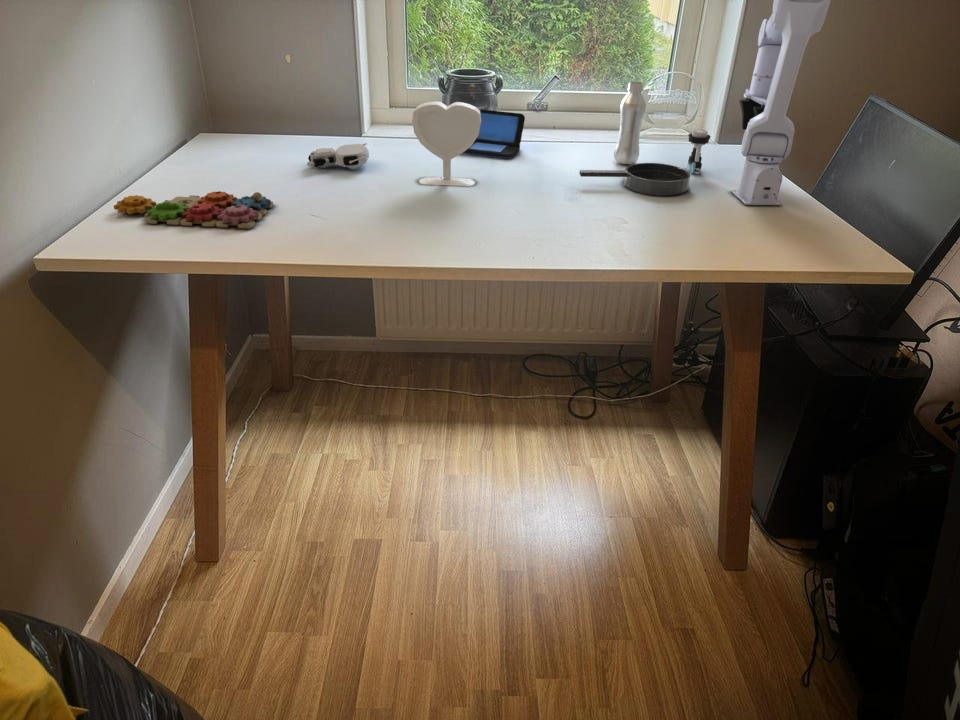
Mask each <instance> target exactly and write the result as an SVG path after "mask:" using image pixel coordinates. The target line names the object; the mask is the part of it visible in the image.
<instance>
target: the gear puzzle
mask: <svg viewBox="0 0 960 720" xmlns="http://www.w3.org/2000/svg"><path fill="white" fill-rule="evenodd" d="M273 206H274V202H273V201H272V200H271V199H269V198H267V197H266V196H263V194H262V193H261V192H258V191H256V192H254V193H253V194H252V195H250V196H249V195H244V196H242V197H241V198H238V197H236V196H234V194H229V193H227V192H226V191H221V190H218V191H211V192H207V193H206V194H205V196H201V197H200V195H194V194H190V195H189V196H175V197H173V199H171V200H169V199H165V200H163V202H159V203H157V202H156V201H154V200H152V198H151V197H150V198H147V197H144V196H143V195H138V194H136V195H128V196H125V197H123V198H122V199H121V200H118V201H116V204H114V205H113V210H115V211H117V213H118V214H123V213H127V214H128V215H133V214H135V213H140V214H144V213H145V214H144V220H145V223H146V224H154V225H157V224H158V223H161V222H163V223H166V224H167V225H172V226H173V225H174V226H178V225H181V226H189V227H191V226H193V225H195V224H198V225H201V226H202V227H207V228H209V227H211V228H213V227H217V228H229V226H234V227H235V226H236V227H237V229H245V230H246V229H247V230H249V229H252V228H253V226H255V224H256V222H255V221H260V220H261V219H262V218H263V216H265V214H267V212H268V211H267V209H272V207H273Z"/></svg>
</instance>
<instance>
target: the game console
mask: <svg viewBox="0 0 960 720" xmlns="http://www.w3.org/2000/svg"><path fill="white" fill-rule="evenodd" d="M478 109H479V110H480V115H481V124H480V130H479V135H478V137H477V138H476V140H475V141H474V143H473V144H472V146H471V147H469V148H468V149H467V150H466V151H464V152H463V153H462V154H465V155H473V156H481V157H489V158H490V157H491V158H496V159H497V158H498V159H506V160H507V159H509V160H510V159H512V158H514V156H515V155H517V154H518V152H520V151H521V143H522V138H523V131H524V126H525V122H526V120H525V119H526V117H525V115H524V114H523V113H517V112H510V111H502V110H501V111H499V110H490V109H482V108H478Z"/></svg>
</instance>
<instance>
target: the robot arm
mask: <svg viewBox="0 0 960 720" xmlns="http://www.w3.org/2000/svg"><path fill="white" fill-rule="evenodd" d="M830 4H831V0H773V3H772V13H771V15H770V17H769V18H768V19H766V18H764V19H763V21H762V23H761V25H760V28H759V32H758V38H757V46H758V50H757V55H756V58H755V63H754V68H753V72H752V77H751V82H750V86H749V88H746V89H745V91H744V92H745V93H743V99H739V105H740V108H741V118H742V119H741V125H742V126H741V127H742V128H741V129H742V130H744V133H743V136H742V137H743V138H742V142H741V148H740V153H741V154H742V156H743V157H745V161H744V165H743V170H742V173H741V178H740V183H739V186H738V189H732V190H731V193H732V194H733V195H734V196H735V197H736V198H738V199H739V200H740V201H741V202H742V203H743V204H744V205H746V206H780V205H781V203H780V201H778V198H779V194H780V190H781V186H782V182H783V173H782V171H781V169H780V164H782V162H783V160H786V159H787V158H788V157H789V155H790V153H791V151H792V147H793V142H794V135H795V133H796V131H795V124H794V123H793V121H792V120H791V119H790V118H789V117H788V116H787V112H788V108H789V105H790V102H791V97H792V96H793V95H792V94H793V91H794V88H795V84H796V82H797V77H798V74H799V70H800V68H801V64H802V61H803V57H804V53H805V50H806V48H807V45H808V43H809V40H810V38H811V37H812V36H813V35H815V34H817V33H819V32H821V30H822V27H823V26H824V23H825V21H826V17H827V14H828V11H829V7H830ZM744 98H745V99H744Z"/></svg>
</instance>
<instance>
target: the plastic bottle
mask: <svg viewBox="0 0 960 720" xmlns="http://www.w3.org/2000/svg"><path fill="white" fill-rule="evenodd" d="M627 91H628V92H627V93H626V95H625V96H624V97H623V99H622V100H621V101H620V106H619V107H620V110H619V111H620V112H619V113H620V114H619V115H620V117H619V118H620V121H619V131H618V136H617V141H616V146H615V147H614V148H615V149H614V152H613V156H614V157H613V158H614V161H615V162H616V163H619V164H622V165H633V164H636V163H637V161H638V160H639V156H640V136H641V128H642V123H643V119H644V116H645V111H646V109H647V104H646V100H645V97H644V95H643V94H642V92H643V91H644V82H641V81H629V82H628V85H627Z"/></svg>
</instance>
